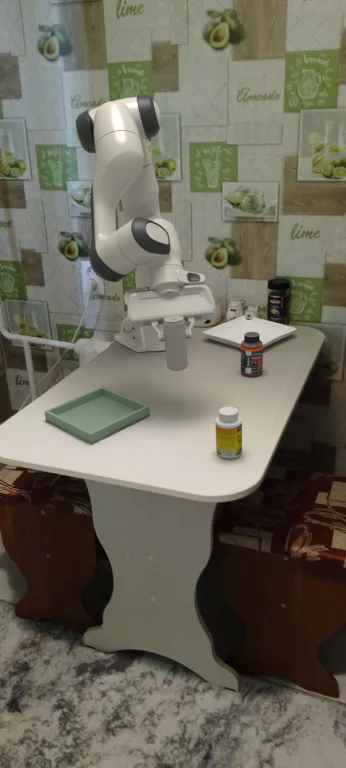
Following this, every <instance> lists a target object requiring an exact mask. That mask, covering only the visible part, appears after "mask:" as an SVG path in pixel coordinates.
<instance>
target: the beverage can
mask: <svg viewBox="0 0 346 768" xmlns="http://www.w3.org/2000/svg"><path fill="white" fill-rule="evenodd" d="M163 326H164V336H165V349H166V350H165V359H166V368H167V369H168V370H170V371H173V372H182V371H184V370H185V369H187V368H188V365H189V363H188V361H189V360H188V348H187V339H186V337H185V329H186V322H185V320H184V317H183V316H180V315H179V316H175V317H165V318H164V321H163Z"/></svg>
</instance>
